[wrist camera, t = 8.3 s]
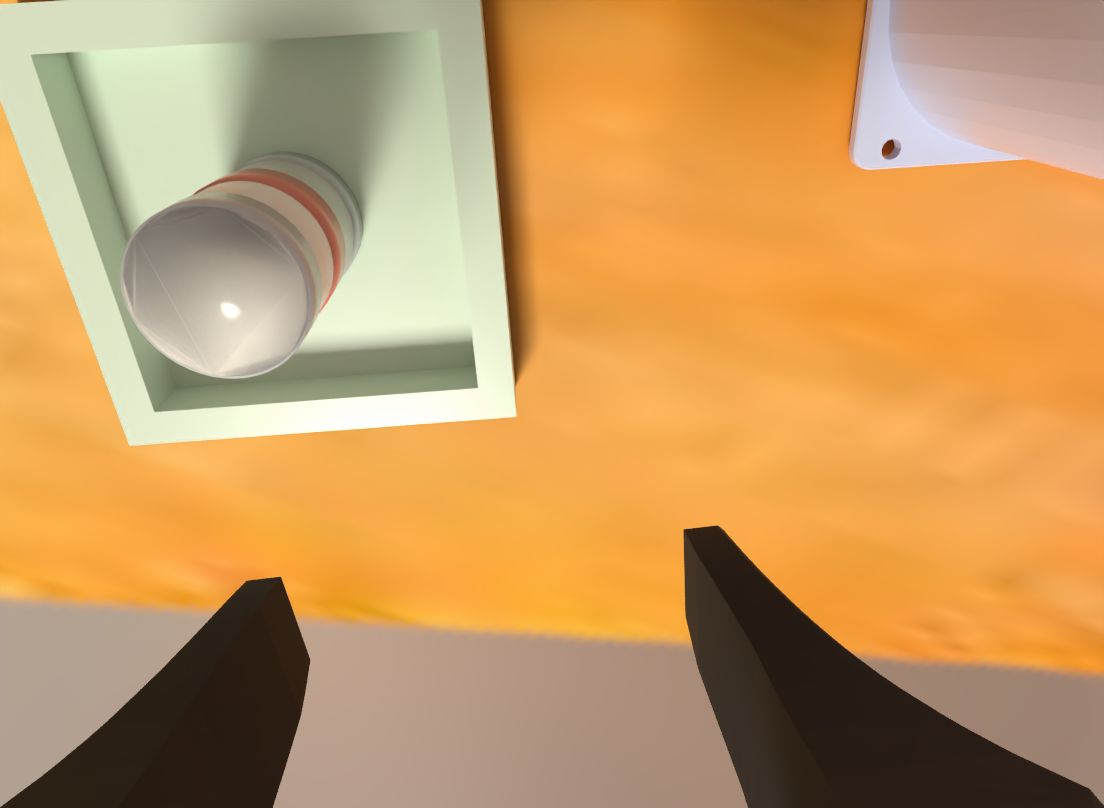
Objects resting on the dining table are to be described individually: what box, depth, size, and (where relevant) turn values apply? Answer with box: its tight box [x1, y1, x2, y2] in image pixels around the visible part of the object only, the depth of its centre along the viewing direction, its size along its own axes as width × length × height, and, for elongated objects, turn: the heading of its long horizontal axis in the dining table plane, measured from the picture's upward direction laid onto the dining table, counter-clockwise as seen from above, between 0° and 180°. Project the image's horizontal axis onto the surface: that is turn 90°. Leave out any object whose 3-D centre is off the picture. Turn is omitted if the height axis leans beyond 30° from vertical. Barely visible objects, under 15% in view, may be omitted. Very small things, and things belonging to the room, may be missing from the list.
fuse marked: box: [120, 152, 363, 379], centre depth 17 cm, size 4×4×6 cm
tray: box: [0, 0, 516, 446], centre depth 19 cm, size 11×11×2 cm
